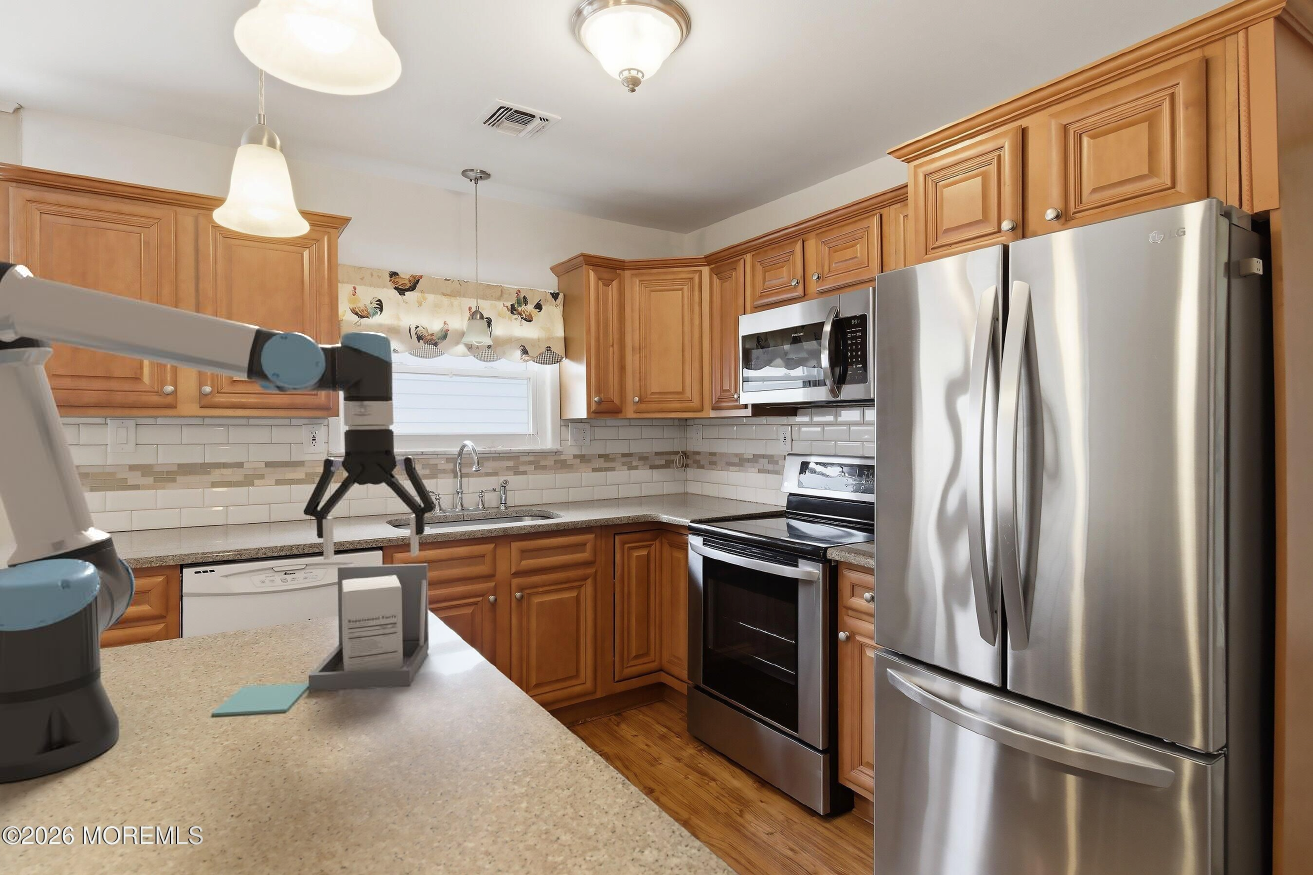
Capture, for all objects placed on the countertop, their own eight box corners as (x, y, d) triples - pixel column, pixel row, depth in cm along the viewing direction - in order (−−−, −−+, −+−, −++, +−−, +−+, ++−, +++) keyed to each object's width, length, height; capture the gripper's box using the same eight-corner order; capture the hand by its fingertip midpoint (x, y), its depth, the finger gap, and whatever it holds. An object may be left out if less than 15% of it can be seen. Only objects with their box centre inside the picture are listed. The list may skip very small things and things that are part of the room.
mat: (211, 715, 100) (211, 713, 100) (243, 688, 109) (243, 686, 109) (286, 711, 101) (286, 708, 101) (311, 685, 111) (311, 682, 111)
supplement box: (342, 666, 119) (341, 579, 119) (398, 659, 123) (397, 573, 122) (343, 685, 111) (341, 591, 110) (403, 676, 115) (402, 585, 114)
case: (308, 691, 108) (306, 588, 108) (340, 656, 124) (339, 566, 124) (409, 685, 110) (408, 584, 110) (428, 652, 126) (427, 563, 126)
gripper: (279, 429, 110) (283, 563, 111) (443, 427, 114) (446, 557, 114) (297, 428, 118) (300, 554, 118) (450, 426, 121) (453, 549, 122)
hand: (372, 556), depth 116 cm, fingers open, 13 cm apart
